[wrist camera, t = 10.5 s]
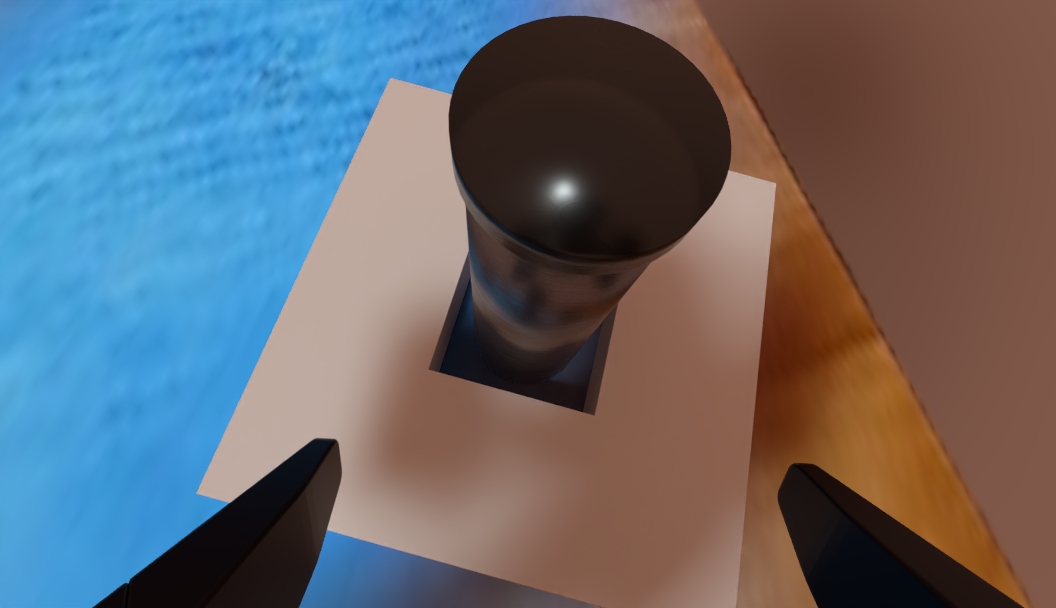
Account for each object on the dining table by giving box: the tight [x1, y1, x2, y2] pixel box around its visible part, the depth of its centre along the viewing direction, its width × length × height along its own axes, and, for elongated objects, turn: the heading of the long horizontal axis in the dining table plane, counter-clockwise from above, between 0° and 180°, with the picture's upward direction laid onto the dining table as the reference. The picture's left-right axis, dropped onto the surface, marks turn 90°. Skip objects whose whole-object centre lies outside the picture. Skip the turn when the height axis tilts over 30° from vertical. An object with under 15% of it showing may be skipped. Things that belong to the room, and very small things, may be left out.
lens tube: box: [448, 16, 731, 384], centre depth 16 cm, size 5×5×15 cm
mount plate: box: [196, 78, 776, 608], centre depth 22 cm, size 20×20×3 cm
